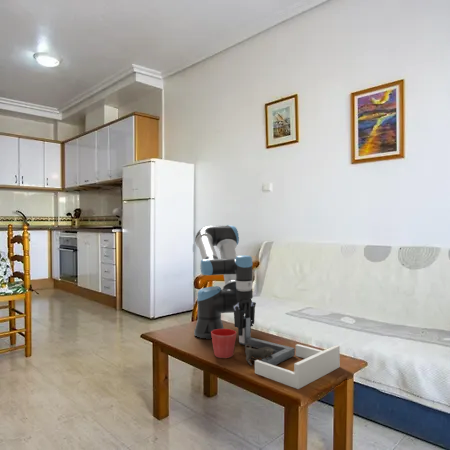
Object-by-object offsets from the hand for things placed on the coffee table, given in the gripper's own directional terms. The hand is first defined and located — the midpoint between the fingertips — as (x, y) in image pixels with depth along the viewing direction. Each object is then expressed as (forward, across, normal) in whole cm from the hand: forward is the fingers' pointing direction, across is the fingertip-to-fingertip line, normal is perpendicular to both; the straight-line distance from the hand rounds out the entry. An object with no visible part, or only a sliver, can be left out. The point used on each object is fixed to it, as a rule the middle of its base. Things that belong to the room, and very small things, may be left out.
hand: (244, 341), depth 169 cm
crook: (+1, -7, -12) cm, 14 cm away
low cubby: (+1, -8, -34) cm, 35 cm away
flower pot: (+2, -16, -3) cm, 16 cm away
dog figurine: (+2, -12, -20) cm, 24 cm away
